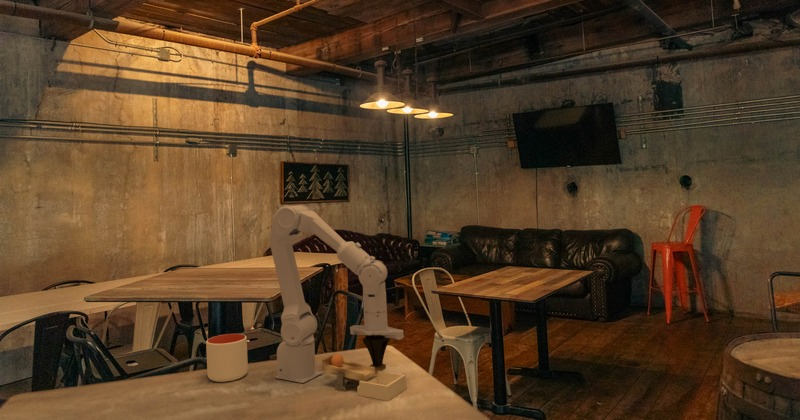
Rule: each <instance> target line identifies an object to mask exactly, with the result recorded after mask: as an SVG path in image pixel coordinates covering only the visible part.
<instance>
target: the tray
mask: <svg viewBox="0 0 800 420" xmlns="http://www.w3.org/2000/svg"><path fill="white" fill-rule="evenodd" d="M406 378H407V377H406V374H400V373H395V372H390V371H384V370H382V371H377V375H374V376H372V377H370V378H369V379H367V380H365V381H359V384H358V386H357V387H356V389H357V391H356V393H357V396H361V397H367V398H369V399H377V400H381V401H386V402H388V401H390V400H392V399H393V398H395V397H396V396H397V395H398V394H400V393H402V392H403V391H405V390H406V389H407V379H406Z"/></svg>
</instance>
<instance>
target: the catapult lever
mask: <svg viewBox="0 0 800 420" xmlns="http://www.w3.org/2000/svg"><path fill="white" fill-rule="evenodd" d="M336 354H337V353H334V354H331V355H329V356H327V357H325V358H322V362H321V363H322V364H321V365H322V366H321V367H322V369H321V371H322V372H323V373H326V374H327V373H328V374H330V375H335V376H337V373H338V372H340V373H344V377H346V378H351V379H355V380H359V381H365V382H366V381H368V380H369V379H371V378H373V377H375V376H376V374H377V371H384V370H386V369H387V364H385V363H382V365H381V366H379V367H377V366H373V363H372V364H370V365H366V364H361V363H357V362H353V361H347V360H344V359H343V364H342V365H341V366H339V367H336V366H333V365H332V363H331V359H332V357H333V356H334V355H336Z"/></svg>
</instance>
